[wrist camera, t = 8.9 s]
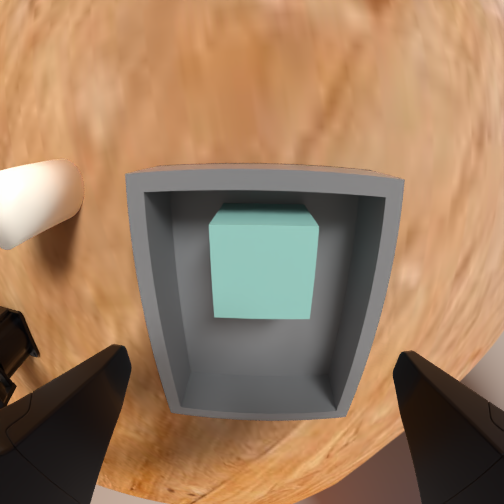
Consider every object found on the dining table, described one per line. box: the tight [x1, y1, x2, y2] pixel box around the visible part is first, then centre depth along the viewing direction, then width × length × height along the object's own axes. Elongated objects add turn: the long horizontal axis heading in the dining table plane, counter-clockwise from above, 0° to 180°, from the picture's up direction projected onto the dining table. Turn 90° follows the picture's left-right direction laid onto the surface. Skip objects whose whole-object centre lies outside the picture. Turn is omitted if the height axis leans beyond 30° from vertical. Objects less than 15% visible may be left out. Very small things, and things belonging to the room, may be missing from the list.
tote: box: [125, 163, 405, 421], centre depth 18 cm, size 18×14×5 cm
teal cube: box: [209, 203, 319, 319], centre depth 16 cm, size 5×5×5 cm
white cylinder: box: [0, 158, 84, 250], centre depth 15 cm, size 5×5×7 cm
